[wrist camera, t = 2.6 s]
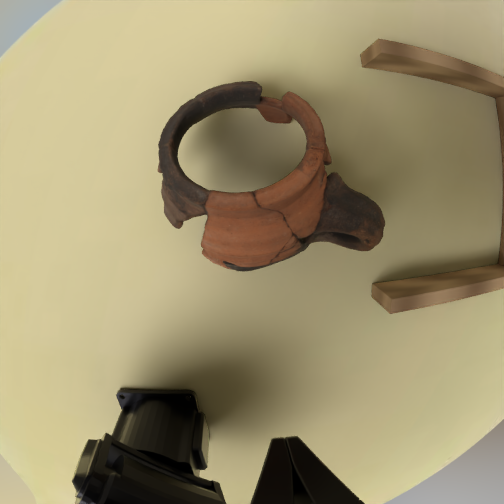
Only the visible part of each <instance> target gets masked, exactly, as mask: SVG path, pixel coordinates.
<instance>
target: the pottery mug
mask: <svg viewBox="0 0 504 504" xmlns="http://www.w3.org/2000/svg"><path fill="white" fill-rule="evenodd" d="M261 93H262V87H261V86H260V85H259V84H258V83H257V82H252V81H248V82H234V83H230V84H224V85H220V86H217V87H213V88H211V89H208V90H206V91H204V92H202V93H201V94H199V95H197V96H196V97H195V98H194V99H191V100H189V101H188V102H187V103H185V104H184V105H182V106H181V107H180V108H179V109H178V111H177V112H176V113H175V114H174V115H173V116H172V117H171V118H170V119H169V121H168V122H167V124H166V126H165V128H164V129H163V132H162V134H161V138H160V141H159V144H158V146H159V166H158V172H159V173H163V174H162V175H163V181H162V190H161V193H162V198H163V200H164V213H165V215H166V217H167V218H168V220H169V221H170V223H171V224H172V225H173V226H174V227H175V228H177V229H180V228H181V227H182V225H183V221H186V220H189V219H191V218H193V217H196V216H201V215H207V216H208V218H207V221H206V224H205V231H204V234H203V239H202V242H201V247H202V248H204V249H203V250H202V254H203V255H204V256H205V257H206V258H207V259H209V260H210V261H211V262H213V263H215V264H218V265H220V266H223V267H225V268H227V269H233V270H236V271H252V270H255V269H260V268H263V267H266V266H269V265H272V264H274V263H277V262H280V261H283V260H286V259H288V258H290V257H292V256H294V255H296V254H298V253H300V252H301V251H304V250H305V249H306V248H307V247H308V246H309V244H310V243H313V242H319V241H324V242H331V243H334V244H337V245H340V246H343V247H346V248H349V249H354V250H358V251H370V250H371V249H373V248H374V247H375V246H376V245H378V244H379V243H380V241H381V239H382V237H383V230H384V227H385V220H384V217H383V214H382V211H381V209H380V207H379V206H378V205H377V204H376V203H375V202H374V201H373V200H371V199H370V198H368V197H367V196H365V195H364V194H362V193H359V192H356V191H354V190H352V189H350V188H349V187H348V186H347V185H346V184H345V183H344V182H343V181H342V179H341V177H340V176H339V174H338V173H335V172H333V173H331V174H329V176H327V173H326V171H325V166H324V165H329V164H331V156H330V153H329V150H328V147H327V145H326V138H325V133H324V129H323V125H322V122H321V120H320V118H319V116H318V115H317V113H316V112H315V110H314V109H313V108H312V107H311V106H310V105H309V104H308V103H307V102H306V101H305V100H303V99H302V98H301V97H299V96H298V95H296V94H294V93H292V92H287V93H286V94H285V95H284V96H283V98H282V101H280V100H278V99H274V98H269V97H262V96H261ZM229 108H256V109H258V110H259V111H260V113H261V114H262V116H263V117H264V118H265V120H267V121H269V122H273V123H290V122H291V121H292V117H293V118H294V119H295V120H297V121H298V123H299V124H300V125H301V126H302V128H303V130H304V132H305V135H306V139H307V145H306V153H305V155H304V158H303V159H302V161H301V162H300V164H299V165H298V166H297V167H296V168H295V169H294V171H292V172H291V173H290V174H289V175H287V176H286V177H285V178H283V179H282V180H280V181H278V182H276V183H274V184H273V185H270V186H268V187H265V188H262V189H258V190H255V191H252V192H249V191H248V192H240V193H229V192H221V191H215V190H207V189H205V188H203V187H202V186H200V185H198V184H196V183H195V182H193V181H192V180H191V179H189V178H188V177H187V176H186V175H185V173H184V172H183V170H182V169H181V167H180V165H179V162H178V157H177V155H178V148H179V145H180V142H181V139H182V137H183V136H184V134H185V133H186V132H187V130H188V129H189V128H190V127H191V126H192V125H193V124H196V123H197V122H199V121H201V120H202V119H204V118H206V117H207V116H209V115H211V114H213V113H216V112H218V111H221V110H224V109H229Z"/></svg>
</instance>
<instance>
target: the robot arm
mask: <svg viewBox="0 0 504 504" xmlns="http://www.w3.org/2000/svg"><path fill="white" fill-rule="evenodd" d="M122 395H124V396H122ZM116 396H117V399H118V401H119V404H120V406H121V409H122V411H121V413H120V416H119V418H118V421H117V423H116V426H115V428H114V431H113V433H112V436H111V435H109V434H108V433H105V435H104V436H103V438H102V439H99V440H90V439H89V440H88V441H87V443H86V445H85V447H84V450H83V452H82V454H81V457H80V459H79V461H78V464H77V467H76V470H75V473H74V476H73V479H72V482H73V485H74V487H75V489H76V495H75V497H76V502H75V504H226V502H225V499H224V496H223V493H222V490H221V487H220V484H219V483H218V482H215V481H209V480H206V479H203V478H200V477H199V472H200V470H205V469H206V468H207V463H208V445H209V431H208V427H207V422H206V418H205V414H204V413H202V412H200V411H199V407H198V402H197V398H196V394H195V393H194V392H193V391H191V390H124V389H121V390H119V391H118V393H117V395H116ZM187 396H191V397H187ZM250 504H365V503H364V502H362V501H361V500H359V498H358V497H357V496H356V495H355V494H354V493H353V492H352V491H351V490H350V489H349V488H348V487H347V486H346V485H345V484H344V483H343V482H342V481H340V480H339V479H338V478H337V477H336V476H335V475H334V474H333V473H332V472H331V471H330V469H329V468H328V467H327V466H326V465H325V464H324V463H323V462H322V461H321V460H320V459H319V458H318V457H317V456H316V455H315V454H314V453H313V452H312V451H311V450H310V449H309V448H308V447H307V446H306V444H305V443H304V442H303V441H302V440H301V439H300V438H299V437H298V436H291V437H286V438H283V437H280V438H273V439H272V440H271V442H270V446H269V449H268V452H267V455H266V459H265V462H264V465H263V468H262V471H261V474H260V477H259V480H258V483H257V486H256V489H255V492H254V495H253V498H252V501H251V503H250Z"/></svg>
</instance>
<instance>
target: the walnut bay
mask: <svg viewBox="0 0 504 504" xmlns="http://www.w3.org/2000/svg"><path fill="white" fill-rule="evenodd" d="M360 56H361V62H362V67H365V68H373V69H380V70H386V71H392V72H398V73H404V74H409V75H414V76H419V77H423V78H428V79H432V80H436V81H440V82H444V83H448V84H452V85H456V86H459V87H463V88H466V89H469V90H473V91H476V92H479V93H482V94H485V95H488V96H491V97H494V98H495V99H496V105H497V111H498V119H499V127H500V136H501V148H502V165H503V215H502V232H501V244H500V253H499V262H498V264H494V265H489V266H483V267H478V268H472V269H466V270H460V271H454V272H448V273H442V274H436V275H429V276H423V277H416V278H409V279H402V280H395V281H388V282H380V283H373V284H372V298H373V299H374V300H376V301H377V302H378V303H379V304H380V305H381V306H382V307H383V308H384V309H386V310H387V311H388V312H389V313H390V314H392V313H397V312H403V311H408V310H413V309H418V308H423V307H428V306H433V305H437V304H442V303H446V302H451V301H455V300H459V299H464V298H468V297H472V296H476V295H480V294H484V293H488V292H492V291H495V290H499V289H503V288H504V77H502V76H500V75H498V74H495V73H493V72H491V71H488V70H486V69H483V68H481V67H478V66H476V65H473V64H470V63H467V62H465V61H462V60H459V59H456V58H453V57H450V56H447V55H443V54H440V53H437V52H433V51H430V50H426V49H422V48H419V47H415V46H411V45H406V44H402V43H398V42H393V41H388V40H383V39H378V40H377V41H375V42H374V43H373V44H372V45H371V46H370V47H368V48H367V49H366V50H365V51H364V52H363V53H361V54H360Z"/></svg>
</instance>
